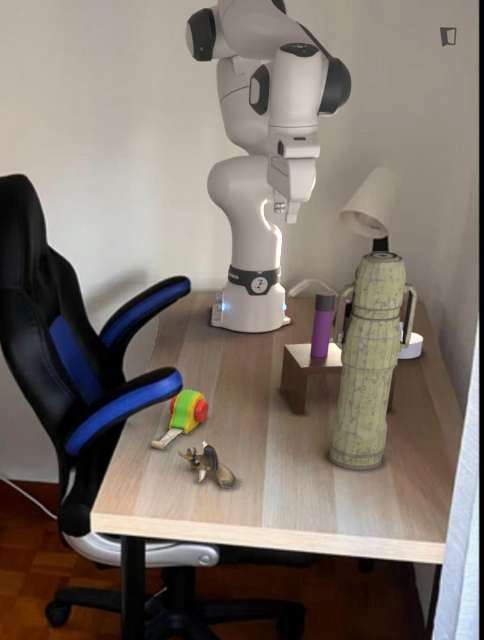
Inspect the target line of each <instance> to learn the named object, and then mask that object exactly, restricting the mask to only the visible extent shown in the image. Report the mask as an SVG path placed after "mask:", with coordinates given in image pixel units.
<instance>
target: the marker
mask: <svg viewBox="0 0 484 640" xmlns="http://www.w3.org/2000/svg"><path fill="white" fill-rule="evenodd" d="M336 296H337V294H336V292H334V291H333V290H332V291H330V290H318V291H316V292H315V298H314V299H315V301H314V316H313V324H312V334H311V341H310V342H311V352H310V355H311V356H313V357H326V356H327V355H328V347H329V339H331V331H332V321H333V312H334V310H335V301H336Z"/></svg>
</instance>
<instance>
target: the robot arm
mask: <svg viewBox="0 0 484 640" xmlns="http://www.w3.org/2000/svg"><path fill="white" fill-rule="evenodd" d="M185 28H186V29H185V33H184V36H185V45H186V47H187V49H188V51H189V53H190V55H191V58H192V59H194V60H195V61H196V62H202V63H205V62H212V60H217V59H218V60H217V63H216V67H215V68H216V69H215V71H216V73H215V75H216V76H215V78H216V90H217V98H218V103H219V108H220V113H221V117H222V122H223V127H224V132H225V135H226V137H227V139H228V140H229V141H230V142H231V143H232V144H233V145H235V146H237V147H238V148H239V147H240V148H241V149H243V150H244V151H245V152H246V153H247V154H248V155H240V156H233V157H230V158H226V159H223V160H220V161H217V162H216V163H214V164H213V166H212V167H211V169H210V170H209V172H208V176H207V179H206V189H207V193H208V196H209V198H210V199H211V201H212V202H213V204H215V205H216V206H217V207H218V208H219V209H220V210H222V211H223V213H224V215H225V216H226V218H227V220H228V223H229V226H230V230H231V260H230V261H231V263H230V264H229V267H228V270H227V271H228V272H227V281H226V283H225V284H224V285H223V287H222V290H221V292H219V291H218V292H215V297H214V302H215V303H216V304H213V305H212V308H211V309H212V310H211V319H210V321H211V322H210V325H211V326H213V327H219V328H224V329H227V330H230V331H234V332H241V333H264V332H265V333H266V332H271V331H275V330H277V329H279V328H281V327H282V326H285V325H288V324H291V318H290V317H288V316H287V315H286V314H285V310H287V305H286V304H285V303H286V290H285V288H284V286H282V285H281V284H280V281H281V276H282V266H281V265H280V263H281V251H282V240H283V239H282V238H283V236H282V233H281V230H280V229H279V228H278V226H277V225H275V224H274V223H272V222H271V221H269V220H267V219H266V218H265V215H264V206H267V205H273V208H272V209H273V212H274V213H275V214H284V212H285V208H286V207H285V206H286V204H287V208H286V212H285V215H284V217H285V218H284V221H285V223H286V224H288V225H289V224H290V225H291V224H296V223H297V220H298V213H299V210H300V208H301V203H304V202H308V201H309V200H310V198H311V195H312V193H313V192H312V191H313V189H314V187H315V185H316V182H317V169H316V164H317V161H316V158H319V157H320V154H321V144H320V142H319V139H318V126H319V120H318V117H333V116H334V115H336V113H338V112H339V111H340V110H341V109H342V108H343V107H344V106H345V105H346V104H347V102H349V101H348V100H349V99H350V97H351V92H352V77H351V72H350V71H349V69H348V67H347V65H345V63H344V62H343V61H342V60H341V59H340V58H338V57H334V56H332V55H331V54H330V53H329V51H328V50H327V49H326V48H325V47H324V46H323V45H322V44H321V42H320V41H319V40H318V39H317V38H316V37H315V36H314V34H313V33H312V32H311V31H310V30H309V29H308V28H307V27H306V26H305V25H303V24H302V23H300V22H298V21H297V20H294V19H293V18H291V17H289V13H288V8H287V6H286V4H285V1H284V0H217V3H216V4H215V5H213V6H209V7H204V8H201V9H200V10H198V11H196V12H194V13H192V14H191V15H190V16H189V18H188V19H187V21H186V27H185ZM262 61H269V62H267V63H262Z"/></svg>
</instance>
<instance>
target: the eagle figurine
mask: <svg viewBox="0 0 484 640" xmlns="http://www.w3.org/2000/svg"><path fill="white" fill-rule="evenodd" d="M201 444H202V449H203V453H202V454H198V450H197V448H196V447H195V446H193V447H192V448H193V452H192V450H191V449H192V448H191V447H189V448H187V449H186V451H185V452H186V454H185V453H183V452H181V450H179V449H178V450H176V452H177V453H178V456H180V457H181V458H184V459H186V460H187V461H188V463H189V464H190V467H191V469H192V471H196V469H197V468H198V480H197V482H198V483H200V482H201V481H202V480H204V479H205V476H206V473H207V471H209V472H212V473H213V474H214V475H215V477H216V478H217V480H218V482H219V485H220V486H221V488H225V489H232V488H233V489H234V488H235V486H237V485H236V484H237V479H236V478H237V477H236V476H235V474H234V473H233V472H232V470H230V468H228V467H227V466H226V465H225V464H223V463H221V462H220V460H219V456H218V453H217V451H216V448H214V446H212V445H210V444H208V443H207V442H206V441H202V442H201ZM196 461H198V462H196Z"/></svg>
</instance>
